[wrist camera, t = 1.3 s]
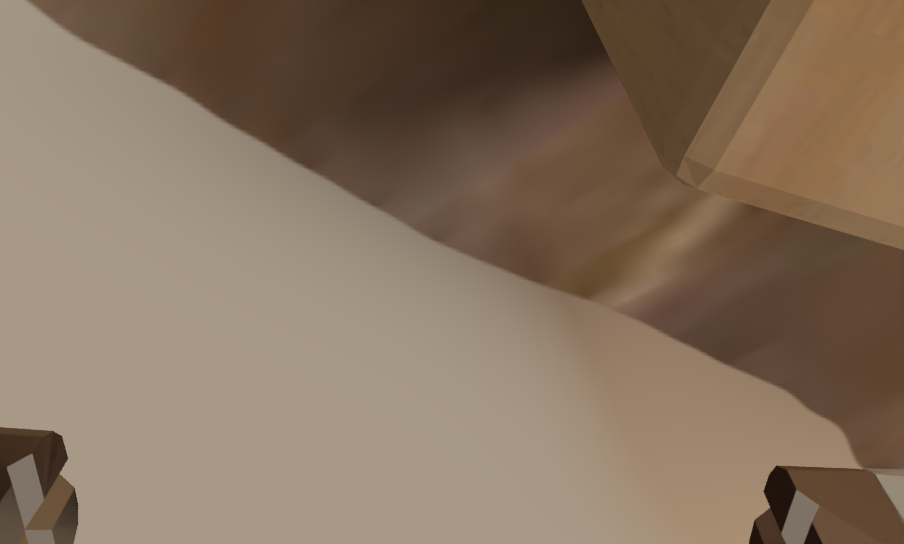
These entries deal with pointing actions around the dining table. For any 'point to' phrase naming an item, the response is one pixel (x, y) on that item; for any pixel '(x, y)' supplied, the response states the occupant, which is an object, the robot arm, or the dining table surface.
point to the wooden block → (772, 101)
